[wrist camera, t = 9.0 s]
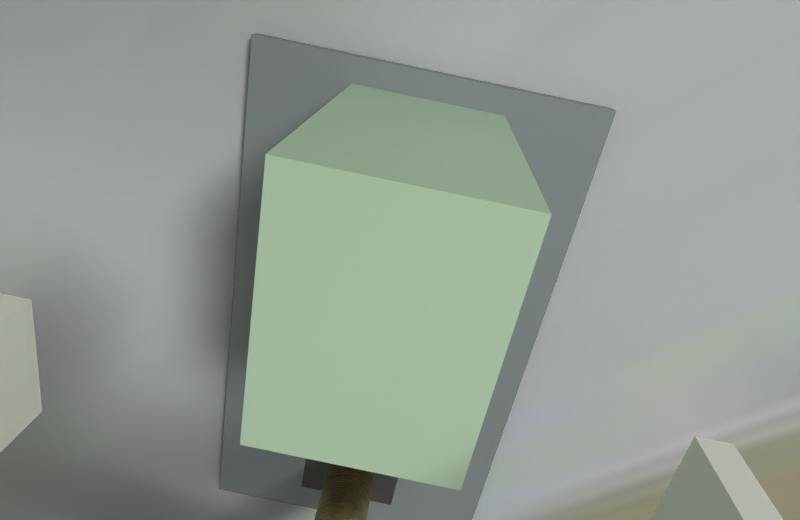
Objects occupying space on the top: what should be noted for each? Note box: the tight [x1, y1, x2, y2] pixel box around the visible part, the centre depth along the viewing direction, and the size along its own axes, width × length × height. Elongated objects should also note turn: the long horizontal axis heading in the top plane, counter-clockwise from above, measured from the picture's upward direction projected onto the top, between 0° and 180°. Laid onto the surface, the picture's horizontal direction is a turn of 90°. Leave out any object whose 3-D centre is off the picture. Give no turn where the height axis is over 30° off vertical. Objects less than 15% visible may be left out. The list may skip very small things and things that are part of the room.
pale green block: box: [240, 84, 552, 490], centre depth 18 cm, size 8×6×11 cm
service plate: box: [219, 33, 616, 520], centre depth 26 cm, size 24×14×1 cm, turn 169°
